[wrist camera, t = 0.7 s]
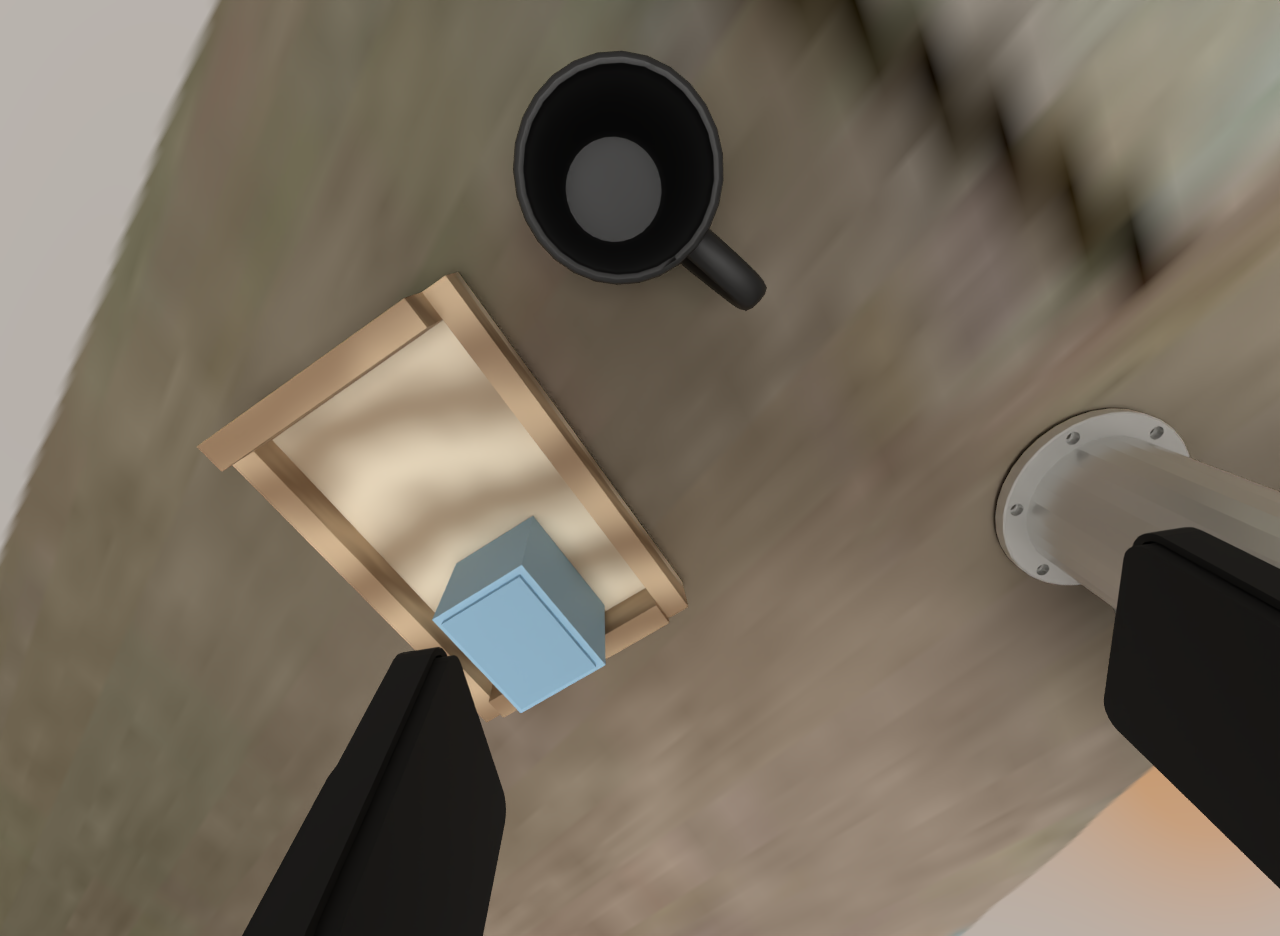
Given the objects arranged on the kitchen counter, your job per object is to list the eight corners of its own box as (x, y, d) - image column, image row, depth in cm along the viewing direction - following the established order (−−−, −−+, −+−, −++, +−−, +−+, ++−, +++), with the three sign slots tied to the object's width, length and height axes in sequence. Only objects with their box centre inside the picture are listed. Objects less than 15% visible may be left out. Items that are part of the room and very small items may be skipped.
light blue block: (604, 605, 40) (605, 668, 34) (531, 648, 41) (520, 717, 35) (532, 515, 37) (521, 567, 32) (456, 563, 38) (430, 623, 32)
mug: (672, 345, 35) (697, 383, 26) (504, 199, 32) (469, 185, 23) (770, 231, 33) (832, 231, 25) (603, 63, 30) (605, -8, 21)
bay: (682, 581, 41) (695, 635, 36) (493, 691, 43) (478, 758, 38) (458, 271, 33) (430, 279, 28) (241, 426, 35) (174, 462, 30)
